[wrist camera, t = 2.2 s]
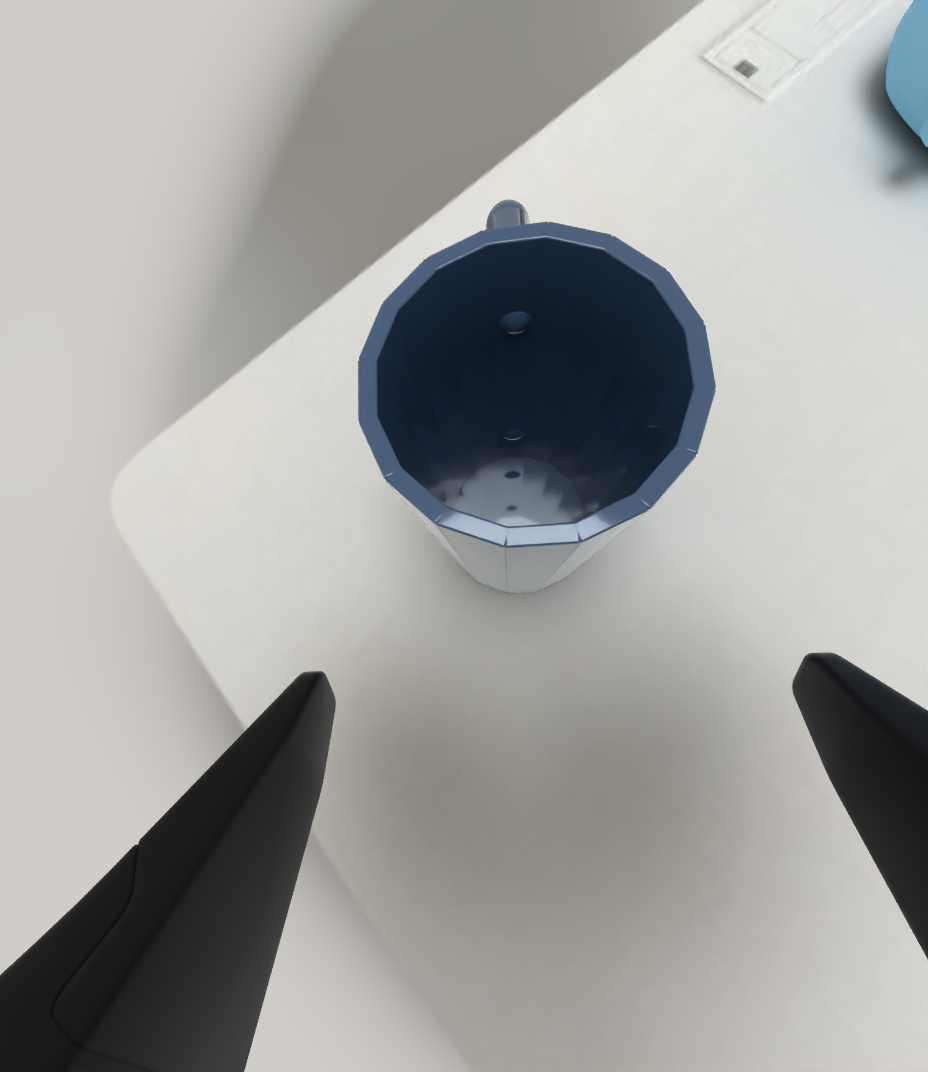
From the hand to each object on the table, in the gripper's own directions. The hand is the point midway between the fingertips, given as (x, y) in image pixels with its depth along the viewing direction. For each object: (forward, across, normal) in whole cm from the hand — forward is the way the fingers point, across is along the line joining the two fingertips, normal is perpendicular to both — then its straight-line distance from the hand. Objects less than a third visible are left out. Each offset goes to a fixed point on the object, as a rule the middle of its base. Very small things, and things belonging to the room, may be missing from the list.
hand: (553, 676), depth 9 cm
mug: (+14, 0, +3) cm, 14 cm away
